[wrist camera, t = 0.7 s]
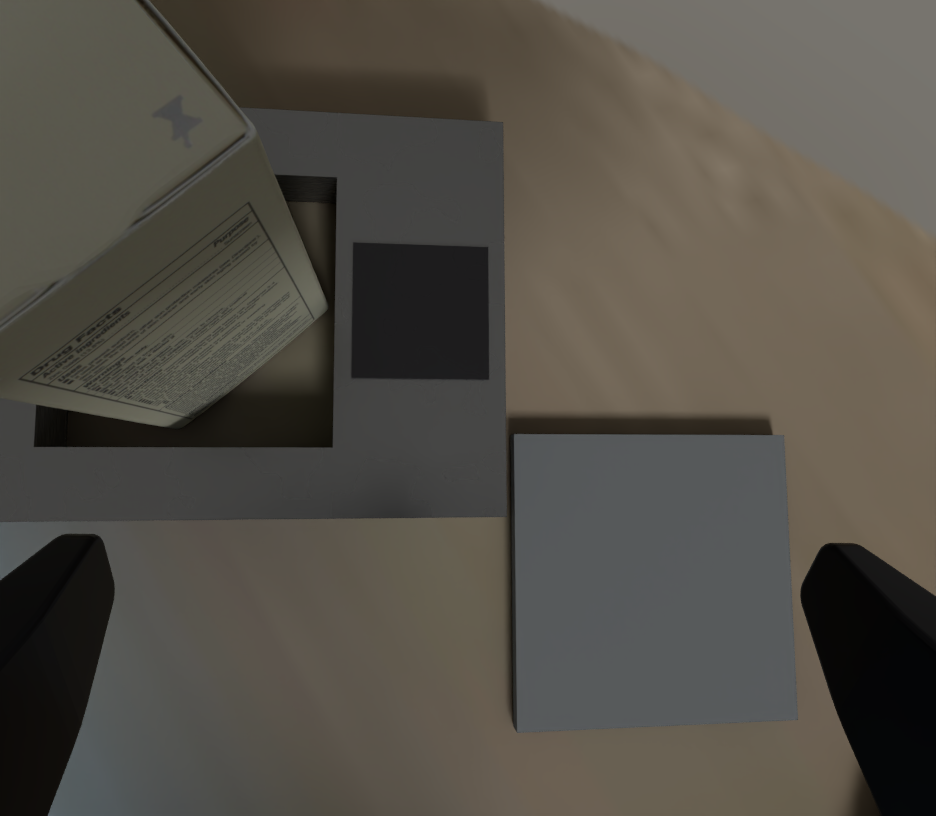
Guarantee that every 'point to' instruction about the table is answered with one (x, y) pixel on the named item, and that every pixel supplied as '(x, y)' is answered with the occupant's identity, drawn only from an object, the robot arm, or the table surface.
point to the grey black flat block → (340, 350)
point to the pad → (650, 581)
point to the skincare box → (134, 220)
